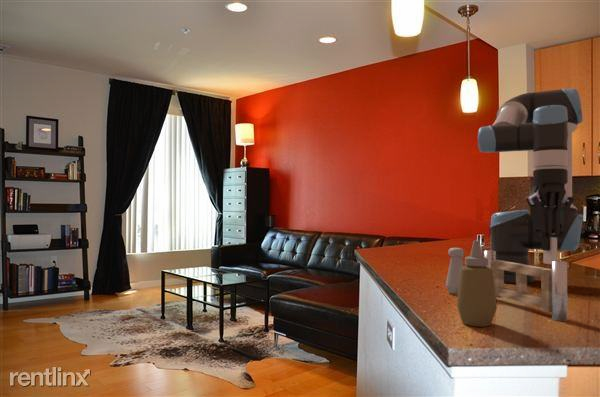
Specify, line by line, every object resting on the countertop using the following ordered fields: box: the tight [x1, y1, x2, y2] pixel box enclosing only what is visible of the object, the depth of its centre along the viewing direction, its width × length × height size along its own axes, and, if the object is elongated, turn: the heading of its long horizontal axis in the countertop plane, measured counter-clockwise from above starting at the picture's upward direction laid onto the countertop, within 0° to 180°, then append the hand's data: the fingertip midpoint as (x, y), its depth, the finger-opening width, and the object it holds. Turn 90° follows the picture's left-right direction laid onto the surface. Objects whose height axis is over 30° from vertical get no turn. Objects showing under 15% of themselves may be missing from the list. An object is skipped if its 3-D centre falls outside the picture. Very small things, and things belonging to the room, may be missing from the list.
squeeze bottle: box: [456, 240, 497, 328], centre depth 98 cm, size 8×8×18 cm
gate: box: [492, 260, 552, 313], centre depth 112 cm, size 18×2×10 cm, turn 18°
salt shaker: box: [445, 247, 465, 296], centre depth 129 cm, size 6×6×13 cm
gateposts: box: [483, 249, 568, 322], centre depth 112 cm, size 25×3×13 cm, turn 18°
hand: (550, 263), depth 112 cm, fingers closed
